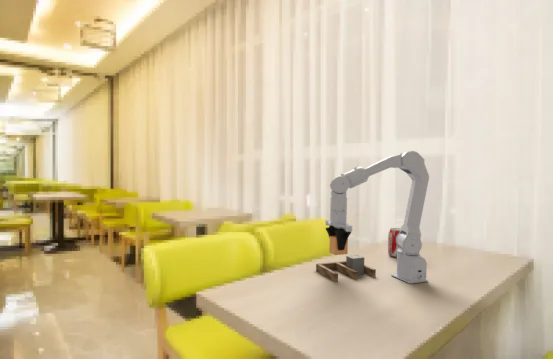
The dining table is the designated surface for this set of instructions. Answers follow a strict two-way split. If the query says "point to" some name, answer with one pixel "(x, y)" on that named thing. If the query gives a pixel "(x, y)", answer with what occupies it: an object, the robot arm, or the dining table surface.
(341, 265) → the cable comb
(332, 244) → the orange block
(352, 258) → the charcoal plug
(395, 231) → the soda can
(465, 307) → the dining table surface
